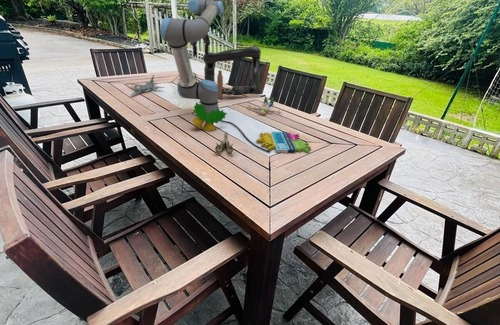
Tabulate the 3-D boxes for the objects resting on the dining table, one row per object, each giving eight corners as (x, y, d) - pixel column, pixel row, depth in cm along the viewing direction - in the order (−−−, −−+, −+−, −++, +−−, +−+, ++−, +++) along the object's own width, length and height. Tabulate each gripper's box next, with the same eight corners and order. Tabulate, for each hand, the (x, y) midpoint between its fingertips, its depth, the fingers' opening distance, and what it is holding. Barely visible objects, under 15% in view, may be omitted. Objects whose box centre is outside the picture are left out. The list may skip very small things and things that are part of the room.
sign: (313, 150, 142) (258, 149, 139) (312, 153, 143) (258, 152, 140) (301, 132, 164) (254, 130, 161) (301, 134, 165) (254, 133, 162)
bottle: (220, 99, 222) (220, 71, 210) (216, 98, 224) (216, 70, 213) (223, 98, 225) (224, 70, 214) (219, 97, 227) (219, 70, 216)
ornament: (218, 133, 171) (224, 110, 169) (221, 134, 163) (227, 111, 161) (186, 125, 162) (192, 101, 160) (189, 126, 155) (195, 101, 153)
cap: (204, 101, 214) (204, 98, 213) (204, 102, 211) (204, 100, 210) (199, 101, 214) (199, 98, 213) (199, 102, 210) (199, 100, 209)
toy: (286, 98, 212) (281, 108, 186) (285, 107, 216) (280, 118, 190) (253, 94, 217) (244, 103, 191) (252, 103, 221) (243, 112, 195)
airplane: (124, 86, 238) (122, 75, 233) (160, 84, 251) (158, 74, 246) (129, 99, 209) (126, 86, 204) (168, 96, 223) (167, 84, 217)
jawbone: (234, 135, 144) (233, 125, 135) (233, 160, 138) (232, 151, 129) (217, 135, 144) (216, 125, 135) (216, 160, 138) (214, 150, 129)
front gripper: (192, 22, 173) (194, 56, 184) (214, 23, 193) (214, 54, 203) (184, 22, 176) (185, 55, 186) (206, 22, 196) (207, 53, 206)
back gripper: (235, 84, 232) (217, 85, 225) (241, 88, 220) (223, 89, 214) (235, 93, 235) (217, 93, 229) (241, 97, 224) (223, 98, 218)
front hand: (201, 54), depth 195 cm, fingers open, 13 cm apart
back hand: (220, 91), depth 222 cm, fingers open, 8 cm apart
